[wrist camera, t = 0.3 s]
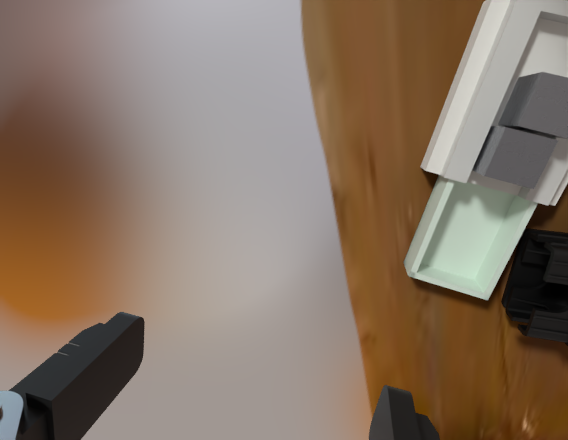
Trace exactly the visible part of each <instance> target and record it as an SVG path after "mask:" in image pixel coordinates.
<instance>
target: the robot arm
mask: <svg viewBox="0 0 568 440" xmlns="http://www.w3.org/2000/svg"><path fill="white" fill-rule="evenodd" d="M143 348H144V319H143V318H142V317H139V316H135V315H131V314H128V313H124V312H120V313H117V314H116V315H115V316H114V317H113V318H111V320H109V321H108V322H107V323H106V324H102V323H98V324H96V325H94V326H92V327H90V328H87V329H85V330H83V331H82V332H81V333H79V334H78V335H77V336H75V337H74V338H73V339H72V340H71V341H69V343H68V344H66V345H64V346H63V347H62V348H61V349H59V350H58V352H57V353H55V354H53V355H52V356H51V357H50V358H48V359H47V360H46V361H45V362H44V363H42V364H41V365H40V366H39V367H37V368H36V369H35V370H34V371H32V372H31V373H30V374H29V375H28V376H27V377H25V378H24V379H23V380H21V381H20V382H19V383H18V384H17V385H15V386H14V387H13V388H11V389H10V390H9V391H0V440H81V438H82V437H83V436H84V435H85V434H86V432H87V431H88V430H89V429H90V428H91V426H92V425H93V424H94V423H95V422H96V420H97V419H98V418H99V417H100V416H101V414H102V413H103V412H104V411H105V410H106V408H107V407H108V406H109V405H110V404H111V402H112V401H113V400H114V399H115V397H116V396H117V395H118V394H119V393H120V391H121V390H122V389H123V388H124V387H125V385H126V384H127V383H128V382H129V380H130V379H131V378H132V377H133V376H134V375H135V373H136V372H137V370H138V368H139V366H140V364H141V362H142V358H143V350H144V349H143ZM369 440H440V438H439V434H438V433H437V431H436V429H435V428H434V426H433V425H432V423H431V422H430V420H429V418H428V417H427V416H425V415H422V414H418V413H415V408H414V403H413V398H412V395H411V393H410V392H409V391H405V390H401V389H398V388H394V387H390V386H387V385H385V386H384V387H383V389H382V392H381V395H380V398H379V401H378V404H377V407H376V410H375V413H374V416H373V419H372V422H371V426H370V432H369Z"/></svg>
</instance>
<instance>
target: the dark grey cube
mask: <svg viewBox="0 0 568 440" xmlns="http://www.w3.org/2000/svg"><path fill="white" fill-rule="evenodd" d="M558 141H559V140H555V139H551V138H547V137H543V136H539V135H535V134H531V133H527V132H523V131H519V130H515V129H511V128H507V127H497V126H491V127H490V129H489V132H488V134H487V136H486V139H485V141H484V143H483V146H482V148H481V150H480V153H479V155H478V157H477V159H476V162H475V164H474V166H473V169H472V171H474V172H477V173H479V174H481V175H483V176H486V177H490V178H494V179H497V180H501V181H505V182H509V183H512V184H516V185H520V186H523V187H527V188H531V189H534V188H535V186H536V184H537V182H538V180H539V178H540V176H541V174H542V172H543V170H544V169H545V167H546V165H547V163H548V161H549V159H550V157H551V155H552V153H553V151H554V149H555V147H556V145H557V143H558Z"/></svg>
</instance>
